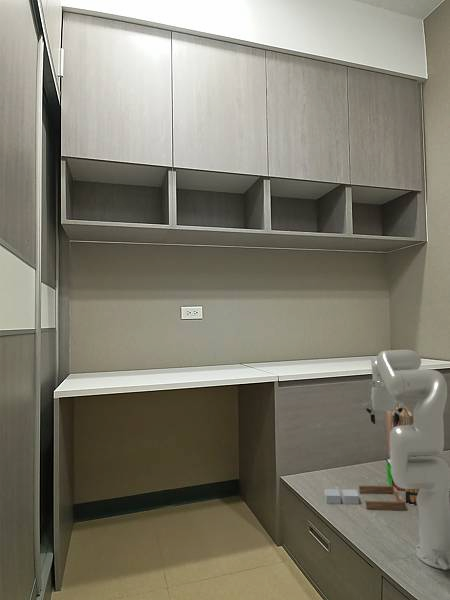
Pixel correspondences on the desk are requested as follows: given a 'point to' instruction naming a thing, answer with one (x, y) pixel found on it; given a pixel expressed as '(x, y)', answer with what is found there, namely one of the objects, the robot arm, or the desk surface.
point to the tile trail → (332, 496)
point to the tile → (350, 496)
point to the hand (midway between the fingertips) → (385, 423)
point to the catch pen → (383, 504)
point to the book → (404, 419)
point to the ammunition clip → (411, 496)
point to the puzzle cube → (391, 475)
